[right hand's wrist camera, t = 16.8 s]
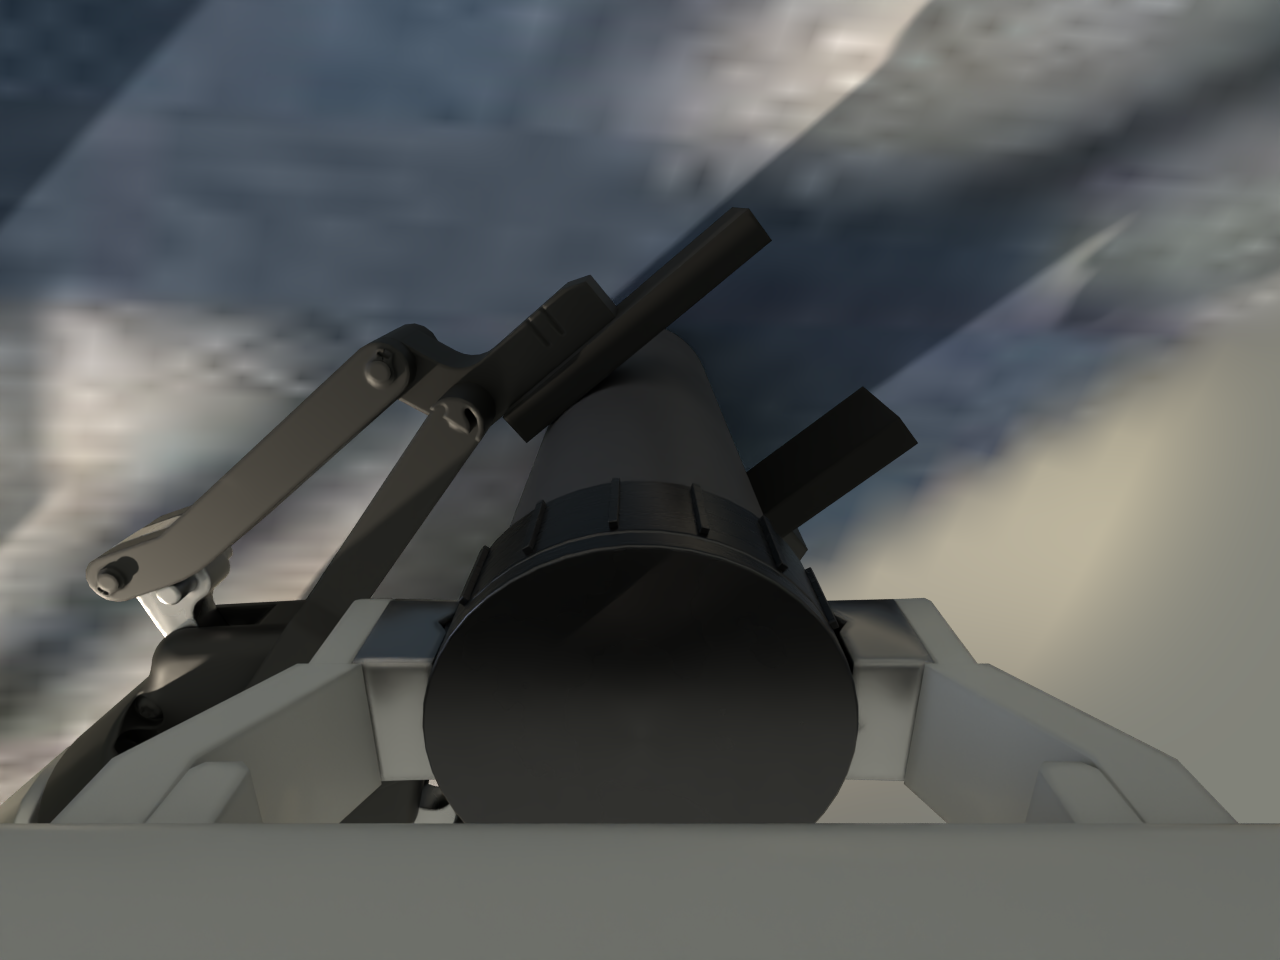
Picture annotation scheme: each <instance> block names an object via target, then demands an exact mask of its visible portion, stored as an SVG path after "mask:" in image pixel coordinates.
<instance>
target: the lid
mask: <svg viewBox="0 0 1280 960" xmlns="http://www.w3.org/2000/svg"><path fill="white" fill-rule="evenodd" d="M458 603H460V604H459V606H458V608H457V611H456V613H455V615H454V618H453V620H452V621H450V622H448V623H446V625H445V628H444V630H445V631H446V636H445V639H444V641H443V643H442V645H441V648H440V650H439V652H438V655H437V657H436V660H435V662H434V665H433V667H432V670H431V672H430V675H429V678H428V681H427V686H426V691H425V696H424V701H423V720H422V727H423V735H424V743H425V750H426V753H427V756H428V760H429V763H430V767H431V770H432V773H433V775H434V777H435V779H436V781H437V783H438V786H439V788H440V790H441V792H442V794H443V795H444V797H445V798H446V800H447V801H448V803H449V804H450V806H451V807H452V809H453V810H454V812H455V813H456V814H457V815H458V816H459V817H460V819H461V820H462V821H463V822H464V823H816V822H817V821H818V819H819V818H820V817H821V816H822V815H823V814H824V813H825V811H826V810H827V809H828V807H829V806H830V804H831V803H832V801H833V800H834V798H835V797H836V796H837V794H838V792H839V790H840V788H841V786H842V784H843V782H844V780H845V778H846V776H847V774H848V771H849V768H850V765H851V762H852V759H853V756H854V753H855V748H856V741H857V735H858V729H859V707H858V699H857V693H856V688H855V682H854V679H853V676H852V673H851V670H850V667H849V665H848V662H847V659H846V657H845V655H844V652H843V650H842V648H841V646H840V644H839V642H838V639H837V637H836V635H835V633H834V629H836V628H838V627H839V625H838V623H837V621H836V619H835V617H834V614H833V612H832V610H831V608H830V606H829V604H828V602H827V600H826V598H825V596H824V593H823V591H822V589H821V587H820V585H819V583H818V581H817V579H816V577H815V574H814V572H813V571H812V569H811V567H810V568H807V569H804V567H803V565H802V563H801V562H800V560H799V559H798V557H797V556H796V555H795V553H794V552H793V551H792V549H791V548H790V547H789V545H788V544H787V543H786V542H785V541H784V540H783V539H782V538H781V537H780V536H779V535H778V534H777V533H776V532H775V531H774V530H773V528H772V526H771V523H770V521H769V519H768V518H767V517H766V516H764V515H762V516H761V517H760V518H758V517H757V516H756V515H754V514H753V513H752V512H750V511H748V510H746V509H745V508H743V507H741V506H739V505H737V504H736V503H734V502H732V501H730V500H728V499H725V498H723V497H720V496H718V495H715V494H713V493H710V492H708V491H705V490H701V486H700V484H696V483H692V485H691V487H690V486H686V485H682V484H675V483H667V482H660V481H623V482H620V478H612V479H611V483H605V484H600V485H596V486H592V487H587V488H583V489H579V490H576V491H574V492H571V493H568V494H566V495H563V496H560V497H558V498H555V499H553V500H551V501H549V502H547V503H545V502H544V500H541V501H539V502H537V503H536V506H535V509H534V510H532V511H531V512H530V513H528V514H527V515H525V516H524V517H523V518H521V519H520V520H518V521H517V522H516V523H514V524H513V525H512V526H511V527H510V528H509V529H508V530H506V531H505V532H504V533H503V534H502V535H501V536H500V537H499V538H498V539H497V540H496V541H495V542H494V544H493V545H492V546H491V547H490V548H489V547H487V546H484V547H483V548H482V549H481V551H480V553H479V555H478V558H477V560H476V562H475V565H474V567H473V569H472V571H471V574H470V576H469V578H468V580H467V583H466V585H465V587H464V590H463V592H462V594H461V596H460V599H459V601H458Z"/></svg>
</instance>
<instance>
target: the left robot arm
mask: <svg viewBox="0 0 1280 960" xmlns="http://www.w3.org/2000/svg"><path fill="white" fill-rule="evenodd" d="M771 241H772V240H771V239H770V237H769V236H768V234H767V233H766V232H765V230H764V229H763V228H762V226H761V225H760V223H759V222H758V221H757V219H756V218H755V216H754V215H753V214H752V212H751V211H750V210H749V209H748V208H734V207H732V208H731V209H730V210H729V211H727V212H726V213H725V214H724V215H723V216H722V217H720V218H719V219H718V220H717V221H716V222H714V223H713V224H712V225H711V226H710V227H709V228H707V229H706V230H705V231H704V232H703V233H702V234H700V235H699V236H698V237H697V238H696V239H695V240H693V241H692V242H691V243H690V244H689V245H688V246H686V247H685V248H684V249H683V250H682V251H681V252H679V253H678V254H677V255H676V256H675V257H673V258H672V259H671V260H670V261H669V262H668V263H666V264H665V265H664V266H663V267H662V268H661V269H659V270H658V271H657V272H656V273H655V274H654V275H652V276H651V277H650V278H649V279H648V280H647V281H645V282H644V283H643V284H642V285H641V286H640V287H638V288H637V289H636V290H635V291H634V292H632V293H631V294H630V295H629V296H628V297H627V298H625V299H624V300H623V301H622V302H621V303H620V304H618V305H617V306H616V305H615V304H614V303H613V302H612V300H611V299H610V298H609V297H608V296H607V294H606V293H605V292H604V291H603V289H602V288H601V287H600V286H599V285H598V283H597V282H596V281H595V280H594V279H593V277H592V276H591V275H588V276H585V277H582V278H579V279H576V280H573V281H570V282H568V283H567V284H565V285H564V286H563V287H562V288H561V289H560V290H559V291H558V292H556V293H555V294H554V295H553V296H552V297H551V298H550V299H549V300H547V301H546V302H545V303H544V304H543V305H542V306H541V307H539V308H538V309H537V310H536V311H535V312H534V313H533V314H531V315H530V316H529V317H528V318H527V319H526V320H525V321H524V322H522V323H521V324H520V325H519V326H518V327H517V328H516V329H514V330H513V331H512V332H511V333H510V334H509V335H508V336H507V337H505V338H504V339H503V340H502V341H501V342H500V343H499V344H497V345H496V346H495V347H494V348H493V349H491V350H490V351H488V352H486V353H483V354H480V355H467V354H462V353H460V352H458V351H455V350H453V349H452V348H450V347H448V346H446V345H444V344H443V343H441V342H439V341H438V340H437V339H436V337H435V336H434V334H433V333H432V332H431V331H430V330H428V329H427V328H426V327H424V326H421V325H418V324H406V325H403V326H401V327H399V328H397V329H395V330H393V331H392V332H390V333H388V334H386V335H384V336H382V337H380V338H378V339H376V340H374V341H373V342H371V343H369V344H367V345H365V346H364V347H362V348H360V349H359V350H358V351H357V352H356V353H355V354H354V355H353V356H352V357H350V358H349V359H348V360H347V361H346V362H345V363H344V364H343V365H342V366H341V367H340V368H339V369H338V370H337V371H335V372H334V373H333V374H332V375H331V376H330V377H329V378H328V379H327V380H326V381H325V382H324V383H323V384H321V385H320V386H319V387H318V388H317V389H316V390H315V391H314V392H313V393H312V394H311V395H310V396H309V397H308V398H306V399H305V400H304V401H303V402H302V403H301V404H300V405H299V406H298V407H297V408H296V409H295V410H294V411H293V412H291V413H290V414H289V415H288V416H287V417H286V418H285V419H284V420H283V421H282V422H281V423H280V424H279V425H278V426H276V427H275V428H274V429H273V430H272V431H271V432H270V433H269V434H268V435H267V436H266V437H265V438H264V439H263V440H261V441H260V442H259V443H258V444H257V445H256V446H255V447H254V448H253V449H252V450H251V451H250V452H249V453H248V454H246V455H245V456H244V457H243V458H242V459H241V460H240V461H239V462H238V463H237V464H236V465H235V466H234V467H233V468H231V469H230V470H229V471H228V472H227V473H226V474H225V475H224V476H223V477H222V478H221V479H220V480H219V481H218V482H216V483H215V484H214V485H213V486H212V487H211V488H210V489H209V490H208V491H207V492H206V493H205V494H204V495H203V496H201V497H200V498H199V499H198V500H197V501H196V502H195V503H194V504H193V505H191V506H188V507H186V508H183V509H180V510H177V511H174V512H171V513H168V514H166V515H163V516H161V517H159V518H157V519H156V520H154V521H153V522H151V523H150V524H148V525H147V526H145V527H144V528H142V529H140V530H139V531H137V532H135V533H134V534H132V535H131V536H129V537H128V538H126V539H125V540H123V541H122V542H120V543H119V544H117V545H116V546H114V547H113V548H112V549H110V550H109V551H107V552H105V553H104V554H102V555H101V556H99V557H98V558H96V559H95V560H93V561H92V562H90V563H89V565H88V567H87V569H86V579H87V581H88V583H89V585H90V587H91V588H92V589H93V590H94V591H95V592H96V593H97V594H98V595H100V596H101V597H103V598H105V599H107V600H111V601H116V602H119V601H127V600H130V599H133V598H136V597H137V599H138V600H139V601H140V603H141V604H142V606H143V607H144V608H145V610H146V611H147V613H148V614H149V616H150V617H151V618H152V620H153V621H154V623H155V624H156V626H157V627H158V628H159V630H160V631H161V633H162V634H163V635H164V637H165V638H164V639H163V640H162V641H161V642H160V644H159V645H158V646H157V648H156V650H155V652H154V655H153V659H152V666H151V671H150V675H149V677H147V678H146V679H145V680H144V681H143V682H142V683H141V684H139V685H138V686H137V687H136V688H135V689H134V690H133V691H131V692H130V693H129V694H128V695H127V696H126V697H125V698H123V699H122V700H121V701H120V702H119V703H118V704H116V705H115V706H114V707H113V708H112V709H111V710H110V711H108V712H107V713H106V714H105V715H104V716H103V717H102V718H100V719H99V720H98V721H97V722H96V723H95V724H94V725H92V726H91V727H90V728H89V729H88V730H87V731H86V732H84V733H83V734H82V735H81V736H80V737H79V738H77V740H76V741H75V742H74V743H73V744H72V745H71V746H69V747H68V748H66V749H65V750H64V751H63V752H62V753H61V754H59V755H58V756H57V757H56V758H55V759H54V760H52V761H51V762H50V763H49V764H48V765H47V766H46V767H44V768H43V769H42V770H41V771H40V772H39V773H37V774H36V775H35V776H34V777H33V778H32V779H30V780H29V781H28V782H27V783H26V784H25V785H23V786H22V787H21V788H20V789H19V790H18V791H17V792H15V793H14V794H13V795H12V796H11V797H10V798H8V799H7V800H6V801H5V802H4V803H3V804H1V805H0V823H51V822H52V821H53V820H54V819H55V818H56V817H57V815H58V814H59V813H60V812H61V811H62V810H63V809H64V808H65V807H66V806H67V805H68V804H69V803H70V802H71V801H72V800H73V799H74V798H75V797H76V796H77V795H78V793H79V792H80V791H81V790H82V789H83V788H84V787H85V786H86V785H87V784H88V783H89V782H90V781H91V780H92V779H93V778H94V777H95V776H96V775H97V774H98V773H99V771H100V770H101V769H102V768H103V767H104V766H105V765H106V764H107V763H108V762H109V761H110V760H111V759H112V758H114V757H116V756H118V755H119V754H121V753H123V752H125V751H127V750H129V749H131V748H133V747H135V746H137V745H139V744H141V743H143V742H145V741H147V740H149V739H151V738H153V737H155V736H157V735H159V734H161V733H163V732H165V731H166V730H168V729H170V728H172V727H174V726H176V725H178V724H180V723H182V722H184V721H186V720H188V719H190V718H192V717H194V716H196V715H198V714H200V713H202V712H204V711H206V710H208V709H210V708H212V707H213V706H215V705H217V704H219V703H221V702H223V701H225V700H227V699H229V698H231V697H233V696H235V695H237V694H239V693H241V692H243V691H245V690H247V689H249V688H251V687H253V686H255V685H257V684H259V683H260V682H262V681H264V680H266V679H268V678H270V677H272V676H274V675H276V674H278V673H280V672H282V671H284V670H286V669H288V668H290V667H292V666H294V665H296V664H309V662H310V661H311V659H312V658H313V657H314V655H315V654H316V653H317V651H318V650H319V648H320V647H321V646H322V644H323V643H324V642H325V640H326V639H327V637H328V636H329V635H330V633H331V632H332V631H333V629H334V628H335V626H336V625H337V624H338V622H339V621H340V620H341V618H342V617H343V615H344V614H345V613H346V611H347V610H348V609H349V607H350V606H351V604H352V603H353V602H354V601H355V600H359V599H370V597H371V596H372V595H373V593H374V592H375V590H376V589H377V587H378V586H379V585H380V583H381V582H382V580H383V579H384V577H385V576H386V575H387V573H388V572H389V570H390V569H391V567H392V566H393V565H394V563H395V562H396V560H397V559H398V557H399V556H400V555H401V553H402V552H403V550H404V549H405V547H406V546H407V545H408V543H409V542H410V540H411V539H412V537H413V536H414V535H415V533H416V532H417V530H418V529H419V527H420V526H421V525H422V523H423V522H424V520H425V519H426V517H427V516H428V515H429V513H430V512H431V510H432V509H433V507H434V506H435V505H436V503H437V502H438V500H439V499H440V497H441V496H442V495H443V493H444V492H445V490H446V489H447V487H448V486H449V485H450V483H451V482H452V480H453V479H454V477H455V476H456V475H457V473H458V472H459V470H460V469H461V467H462V466H463V465H464V463H465V462H466V460H467V459H468V457H469V456H470V455H471V453H472V452H473V450H474V449H475V447H476V446H477V445H478V443H479V442H480V441H481V439H482V438H483V436H484V435H485V433H486V432H487V430H488V429H489V427H490V426H491V425H492V424H494V423H495V422H496V421H497V420H498V419H500V418H501V417H502V416H503V415H504V416H503V418H504V419H505V420H506V421H507V422H508V423H509V425H510V426H511V427H512V428H513V429H514V430H515V431H516V432H517V433H518V434H519V435H520V436H521V437H522V438H523V440H524V441H525V442H526V443H527V442H528V441H530V440H531V439H532V438H533V437H534V436H536V435H537V434H538V433H539V432H541V431H542V430H543V429H544V428H545V427H547V426H548V425H549V424H550V423H551V422H553V421H554V420H555V419H556V418H557V417H559V416H560V415H561V414H562V413H564V412H565V411H566V410H567V409H568V408H570V407H571V406H572V405H573V404H574V403H576V402H577V401H578V400H579V399H580V398H582V397H583V396H584V395H585V394H587V393H588V392H589V391H590V390H591V389H593V388H594V387H595V386H596V385H597V384H599V383H600V382H601V381H602V380H603V379H605V378H606V377H607V376H608V375H610V374H611V373H612V372H613V371H614V370H616V369H617V368H618V367H619V366H620V365H622V364H623V363H624V362H625V361H626V360H628V359H629V358H630V357H631V356H633V355H634V354H635V353H636V352H637V351H639V350H640V349H641V348H642V347H643V346H645V345H646V344H647V343H648V342H649V341H651V340H652V339H653V338H654V337H656V336H657V335H658V334H659V333H660V332H662V331H663V330H664V329H665V328H666V327H668V326H669V325H670V324H671V323H672V322H674V321H675V320H676V319H677V318H679V317H680V316H681V315H682V314H683V313H685V312H686V311H687V310H688V309H689V308H691V307H692V306H693V305H694V304H695V303H697V302H698V301H699V300H700V299H702V298H703V297H704V296H705V295H706V294H708V293H709V292H710V291H711V290H712V289H714V288H715V287H716V286H717V285H718V284H720V283H721V282H722V281H723V280H725V279H726V278H727V277H728V276H729V275H731V274H732V273H733V272H734V271H735V270H737V269H738V268H739V267H740V266H741V265H743V264H744V263H745V262H746V261H748V260H749V259H750V258H751V257H752V256H754V255H755V254H756V253H757V252H758V251H760V250H761V249H762V248H763V247H764V246H766V245H767V244H768V243H769V242H771ZM397 399H398V400H400V401H402V402H404V403H406V404H408V405H410V406H411V407H413V408H415V409H417V410H419V411H421V412H423V413H425V414H426V415H428V417H427V418H426V420H425V421H424V423H423V424H422V426H421V427H420V429H419V430H418V432H417V433H416V435H415V436H414V438H413V439H412V441H411V442H410V444H409V445H408V447H407V448H406V450H405V451H404V453H403V454H402V456H401V457H400V459H399V460H398V462H397V463H396V465H395V466H394V468H393V469H392V471H391V472H390V474H389V475H388V477H387V478H386V480H385V481H384V483H383V484H382V486H381V488H380V489H379V491H378V492H377V494H376V495H375V497H374V498H373V500H372V501H371V503H370V504H369V506H368V507H367V509H366V510H365V512H364V513H363V515H362V516H361V518H360V519H359V521H358V522H357V524H356V525H355V527H354V528H353V530H352V531H351V533H350V534H349V536H348V537H347V539H346V540H345V542H344V543H343V545H342V546H341V548H340V549H339V551H338V552H337V554H336V555H335V557H334V558H333V560H332V561H331V563H330V564H329V566H328V568H327V569H326V571H325V572H324V574H323V575H322V577H321V578H320V580H319V581H318V583H317V584H316V586H315V587H314V589H313V590H312V592H311V593H310V595H309V596H308V598H307V599H306V600H295V601H277V602H259V603H240V604H222V605H215V603H214V601H213V590H214V588H215V587H216V586H217V585H218V584H219V583H220V582H221V581H223V580H224V579H225V578H226V577H227V575H228V574H229V571H230V562H229V560H228V559H230V557H231V556H232V554H233V550H232V548H231V546H232V545H233V544H234V543H235V542H236V541H238V540H239V539H240V538H241V537H242V536H243V535H245V534H246V533H247V532H248V531H249V530H251V529H252V528H253V527H254V526H255V525H257V524H258V523H259V522H260V521H261V520H263V519H264V518H265V517H266V516H267V515H268V514H269V513H271V512H272V511H273V510H274V509H275V508H276V507H277V506H278V505H279V504H281V503H282V502H283V501H284V500H285V499H286V498H287V497H288V496H290V495H291V494H292V493H293V492H294V491H295V490H296V489H297V488H299V487H300V486H301V485H302V484H303V483H304V482H305V481H306V480H308V479H309V478H310V477H311V476H312V475H313V474H314V473H315V472H316V471H318V470H319V469H320V468H321V467H322V466H323V465H324V464H325V463H327V462H328V461H329V460H330V459H331V458H332V457H333V456H334V455H336V454H337V453H338V452H339V451H340V450H341V449H342V448H343V447H344V446H346V445H347V444H348V443H349V442H350V441H351V440H352V439H353V438H355V437H356V436H357V435H358V434H359V433H360V432H361V431H362V430H364V429H365V428H366V427H367V426H368V425H369V424H370V423H371V422H373V421H374V420H375V419H376V418H377V417H378V416H379V415H380V414H381V413H383V412H384V411H385V410H386V409H387V408H388V407H389V406H390V405H392V404H393V403H394V402H395V401H396V400H397ZM916 444H918V442H917V441H916V440H915V438H914V437H913V435H912V434H911V433H910V431H909V430H908V428H907V427H906V426H905V424H904V423H903V422H902V420H901V419H900V417H898V416H897V415H896V414H895V413H894V412H893V411H891V410H890V409H889V408H888V407H887V406H885V405H884V404H883V403H882V402H881V401H880V400H878V399H877V398H876V397H875V396H874V395H872V394H871V393H870V392H869V391H868V390H866V389H865V388H864V387H861V388H860V389H859V390H857V391H856V392H855V393H853V394H852V395H850V396H849V397H848V398H846V399H845V400H844V401H842V402H841V403H840V404H838V405H837V406H836V407H834V408H833V409H832V410H830V411H829V412H827V413H826V414H825V415H823V416H822V417H821V418H819V419H818V420H817V421H815V422H814V423H813V424H811V425H810V426H808V427H807V428H806V429H804V430H803V431H802V432H800V433H799V434H798V435H796V436H795V437H794V438H792V439H791V440H790V441H788V442H787V443H785V444H784V445H783V446H781V447H780V448H779V449H777V450H776V451H775V452H773V453H772V454H771V455H769V456H768V457H766V458H765V459H764V460H762V461H761V462H760V463H758V464H757V465H756V466H754V467H753V468H752V469H750V470H749V471H748V472H746V474H747V476H748V478H749V481H750V483H751V486H752V488H753V491H754V493H755V496H756V498H757V501H758V503H759V505H760V508H761V510H762V513H763V515H764V516H766V517H767V518H768V519H769V521H770V523H771V526H772V528H773V530H774V531H775V532H776V533H777V534H778V535H779V536H780V537H781V538H782V539H783V540H784V541H785V542H786V543H787V544H788V545H789V547H790V548H791V549H792V551H793V552H794V553H795V555H796V556H797V557H798V559H799V560H801V558H802V557H803V556H804V554H805V553H806V551H807V550H808V549H807V547H806V545H805V543H804V541H803V539H802V536H801V534H800V532H799V530H798V527H799V526H801V525H802V524H803V523H805V522H806V521H808V520H809V519H811V518H812V517H813V516H815V515H816V514H818V513H819V512H821V511H822V510H823V509H825V508H826V507H828V506H829V505H831V504H832V503H833V502H835V501H836V500H838V499H839V498H841V497H842V496H843V495H845V494H846V493H848V492H849V491H851V490H852V489H853V488H855V487H856V486H858V485H859V484H861V483H862V482H863V481H865V480H866V479H868V478H869V477H871V476H872V475H873V474H875V473H876V472H878V471H879V470H881V469H882V468H883V467H885V466H886V465H888V464H889V463H891V462H892V461H893V460H895V459H896V458H898V457H899V456H901V455H902V454H903V453H905V452H906V451H908V450H909V449H911V448H912V447H913V446H915V445H916ZM428 783H429V780H396V781H381V785H380V786H379V787H378V788H377V789H376V790H375V791H374V792H373V793H372V794H370V795H369V796H368V797H367V798H366V799H365V800H364V801H363V802H362V803H361V804H359V805H358V806H357V807H356V808H355V809H354V810H353V811H352V812H351V813H350V814H349V815H347V816H346V817H345V818H344V819H343V820H342V821H341V822H340V823H464V822H463V821H462V820H461V819H460V817H459V816H458V815H457V814H456V813H455V812H454V810H453V809H452V807H451V806H450V804H449V803H448V801H447V800H446V798H445V797H444V795H443V794H442V792H441V790H440V788H439V787H438V786H433V785H429V784H428Z"/></svg>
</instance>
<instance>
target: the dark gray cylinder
mask: <svg viewBox="0 0 1280 960" xmlns="http://www.w3.org/2000/svg"><path fill="white" fill-rule="evenodd" d="M612 478H620V482H623V481H660V482H667V483H675V484H682V485H686V486H690V487H691V485H692V483H696V484H700V486H701V490H705V491H708V492H710V493H713V494H715V495H718V496H720V497H723V498H725V499H728V500H730V501H732V502H734V503H736V504H737V505H739V506H741V507H743V508H745V509H746V510H748V511H750V512H752V513H753V514H754V515H756V516H757V517H758V518H760V517H761V516H762V515H763V513H762V510H761V508H760V505H759V503H758V501H757V498H756V496H755V493H754V491H753V488H752V486H751V483H750V481H749V478H748V476H747V474H746V471H745V469H744V466H743V464H742V461H741V459H740V456H739V454H738V451H737V449H736V447H735V444H734V442H733V439H732V437H731V434H730V432H729V429H728V427H727V424H726V422H725V420H724V417H723V415H722V412H721V410H720V407H719V405H718V402H717V400H716V398H715V395H714V393H713V390H712V388H711V385H710V383H709V380H708V378H707V375H706V373H705V371H704V368H703V366H702V364H701V361H700V360H699V358H698V356H697V355H696V353H695V352H694V351H693V350H692V348H691V347H690V346H689V345H688V344H687V343H686V342H685V341H684V340H683V339H681V338H680V337H678V336H677V335H675V334H674V333H672V332H670V331H668V330H666V329H664V330H663V331H662V332H660V333H659V334H658V335H657V336H656V337H654V338H653V339H652V340H651V341H649V342H648V343H647V344H646V345H645V346H643V347H642V348H641V349H640V350H639V351H637V352H636V353H635V354H634V355H633V356H631V357H630V358H629V359H628V360H626V361H625V362H624V363H623V364H622V365H620V366H619V367H618V368H617V369H616V370H614V371H613V372H612V373H611V374H610V375H608V376H607V377H606V378H605V379H603V380H602V381H601V382H600V383H599V384H597V385H596V386H595V387H594V388H593V389H591V390H590V391H589V392H588V393H587V394H585V395H584V396H583V397H582V398H580V399H579V400H578V401H577V402H576V403H574V404H573V405H572V406H571V407H570V408H568V409H567V410H566V411H565V412H564V413H562V414H561V415H560V416H559V417H557V418H556V419H555V420H554V421H553V422H551V423H550V424H549V426H548V428H547V431H546V433H545V436H544V439H543V441H542V444H541V447H540V449H539V452H538V454H537V457H536V460H535V462H534V465H533V467H532V470H531V473H530V475H529V478H528V481H527V483H526V486H525V488H524V491H523V494H522V496H521V499H520V502H519V504H518V507H517V509H516V512H515V515H514V517H513V520H512V523H511V525H510V527H511V526H512V525H513V524H514V523H516V522H517V521H518V520H520V519H521V518H523V517H524V516H525V515H527V514H528V513H530V512H531V511H532V510H534V509H535V506H536V503H537V502H539V501H541V500H544V502H545V503H547V502H549V501H551V500H553V499H555V498H558V497H560V496H563V495H566V494H568V493H571V492H574V491H576V490H579V489H583V488H587V487H592V486H596V485H600V484H605V483H611V479H612Z"/></svg>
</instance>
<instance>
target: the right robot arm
mask: <svg viewBox="0 0 1280 960" xmlns="http://www.w3.org/2000/svg"><path fill="white" fill-rule="evenodd" d="M458 601H459V600H430V599H395V600H394V599H392V598H379V599H359V600H355V601H354V602H353V603H352V604H351V606H350V607H349V609H348V610H347V611H346V613H345V614H344V615H343V617H342V618H341V620H340V621H339V622H338V624H337V625H336V626H335V628H334V629H333V631H332V632H331V633H330V635H329V636H328V637H327V639H326V640H325V642H324V643H323V644H322V646H321V647H320V648H319V650H318V651H317V653H316V654H315V655H314V657H313V658H312V659H311V661H310V662H309V664H296V665H294V666H292V667H290V668H288V669H286V670H284V671H282V672H280V673H278V674H276V675H274V676H272V677H270V678H268V679H266V680H264V681H262V682H260V683H259V684H257V685H255V686H253V687H251V688H249V689H247V690H245V691H243V692H241V693H239V694H237V695H235V696H233V697H231V698H229V699H227V700H225V701H223V702H221V703H219V704H217V705H215V706H213V707H212V708H210V709H208V710H206V711H204V712H202V713H200V714H198V715H196V716H194V717H192V718H190V719H188V720H186V721H184V722H182V723H180V724H178V725H176V726H174V727H172V728H170V729H168V730H166V731H165V732H163V733H161V734H159V735H157V736H155V737H153V738H151V739H149V740H147V741H145V742H143V743H141V744H139V745H137V746H135V747H133V748H131V749H129V750H127V751H125V752H123V753H121V754H119V755H118V756H116V757H114V758H112V759H111V760H110V761H109V762H108V763H107V764H106V765H105V766H104V767H103V768H102V769H101V770H100V771H99V773H98V774H97V775H96V776H95V777H94V778H93V779H92V780H91V781H90V782H89V783H88V784H87V785H86V786H85V787H84V788H83V789H82V790H81V791H80V792H79V793H78V795H77V796H76V797H75V798H74V799H73V800H72V801H71V802H70V803H69V804H68V805H67V806H66V807H65V808H64V809H63V810H62V811H61V812H60V813H59V814H58V815H57V817H56V818H55V819H54V820H53V821H52V822H51V823H0V960H1280V824H1239V823H1238V822H1237V821H1236V820H1235V819H1234V818H1233V817H1232V816H1231V815H1230V814H1229V813H1228V812H1227V811H1226V810H1225V809H1224V808H1223V807H1222V806H1221V805H1220V804H1219V802H1218V801H1217V800H1216V799H1215V798H1214V797H1213V796H1212V795H1211V794H1210V793H1209V792H1208V791H1207V790H1206V789H1205V788H1204V787H1203V786H1202V785H1201V784H1200V783H1199V782H1198V781H1197V780H1196V779H1195V778H1194V776H1193V775H1192V774H1191V773H1190V772H1189V771H1188V770H1187V769H1186V768H1185V767H1184V766H1183V765H1182V764H1181V763H1180V762H1179V761H1178V760H1177V759H1175V758H1173V757H1171V756H1169V755H1167V754H1165V753H1164V752H1162V751H1160V750H1158V749H1156V748H1154V747H1152V746H1150V745H1148V744H1146V743H1144V742H1142V741H1140V740H1138V739H1136V738H1134V737H1132V736H1130V735H1128V734H1126V733H1124V732H1122V731H1120V730H1118V729H1116V728H1114V727H1112V726H1110V725H1108V724H1106V723H1105V722H1102V721H1101V720H1099V719H1097V718H1095V717H1093V716H1091V715H1089V714H1087V713H1085V712H1083V711H1081V710H1079V709H1077V708H1075V707H1073V706H1071V705H1069V704H1067V703H1065V702H1063V701H1061V700H1059V699H1057V698H1055V697H1053V696H1051V695H1049V694H1047V693H1045V692H1044V691H1042V690H1040V689H1038V688H1036V687H1034V686H1032V685H1030V684H1028V683H1026V682H1024V681H1022V680H1020V679H1018V678H1016V677H1014V676H1012V675H1010V674H1008V673H1006V672H1004V671H1002V670H1000V669H998V668H996V667H994V666H992V665H990V664H978V663H977V662H976V661H975V659H974V658H973V657H972V655H971V654H970V653H969V651H968V650H967V649H966V647H965V646H964V645H963V643H962V642H961V641H960V639H959V638H958V637H957V635H956V634H955V633H954V631H953V630H952V629H951V627H950V626H949V625H948V623H947V622H946V621H945V619H944V618H943V617H942V615H941V614H940V612H939V611H938V610H937V608H936V607H935V606H934V604H933V603H932V602H931V601H930V600H928V599H925V598H913V599H879V600H838V601H827V602H828V604H829V606H830V608H831V610H832V612H833V614H834V617H835V619H836V621H837V623H838V625H839V627H838V628H836V629H834V633H835V635H836V637H837V639H838V642H839V644H840V646H841V648H842V650H843V652H844V655H845V657H846V659H847V662H848V665H849V667H850V670H851V673H852V676H853V679H854V682H855V688H856V693H857V699H858V707H859V729H858V735H857V741H856V748H855V753H854V756H853V759H852V762H851V765H850V768H849V771H848V774H847V776H846V778H845V779H854V780H889V781H904V784H905V785H906V786H907V787H908V788H909V789H910V790H911V791H912V792H913V793H915V794H916V795H917V796H918V797H919V798H920V799H921V800H922V801H923V802H925V803H926V804H927V805H928V806H929V807H930V808H931V809H932V810H933V811H934V812H936V813H937V814H938V815H939V816H940V817H941V818H942V819H943V820H944V821H946V822H947V823H340V822H341V821H342V820H343V819H344V818H345V817H346V816H347V815H349V814H350V813H351V812H352V811H353V810H354V809H355V808H356V807H357V806H358V805H359V804H361V803H362V802H363V801H364V800H365V799H366V798H367V797H368V796H369V795H370V794H372V793H373V792H374V791H375V790H376V789H377V788H378V787H379V786H380V785H381V781H396V780H431V779H435V777H434V775H433V773H432V770H431V767H430V763H429V760H428V756H427V753H426V750H425V743H424V735H423V727H422V720H423V701H424V696H425V691H426V686H427V681H428V678H429V675H430V672H431V670H432V667H433V665H434V662H435V660H436V657H437V655H438V652H439V650H440V648H441V645H442V643H443V641H444V639H445V636H446V631H445V630H444V628H445V625H446V623H448V622H450V621H452V620H453V618H454V615H455V613H456V611H457V608H458V606H459V604H460V603H458Z"/></svg>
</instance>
